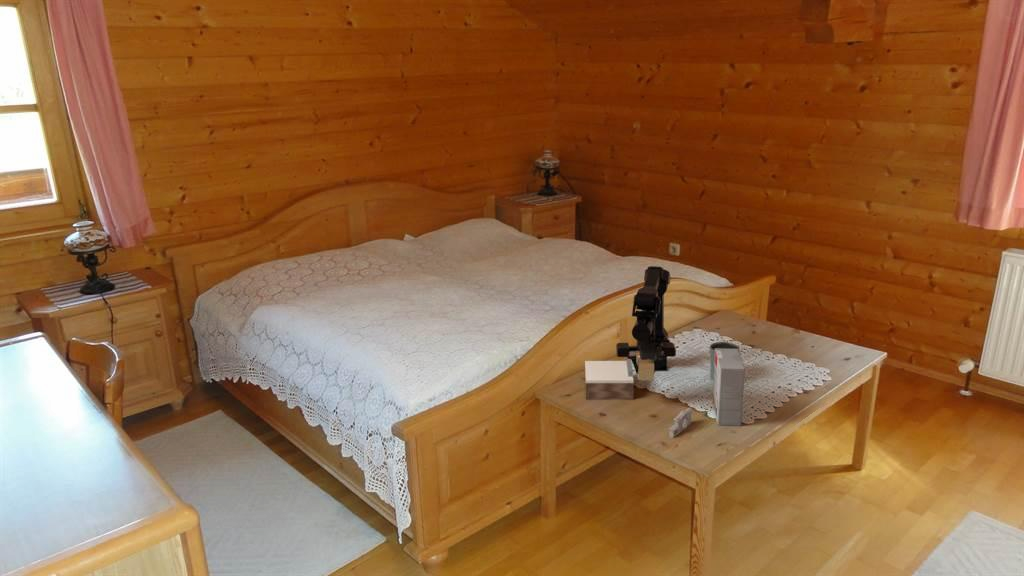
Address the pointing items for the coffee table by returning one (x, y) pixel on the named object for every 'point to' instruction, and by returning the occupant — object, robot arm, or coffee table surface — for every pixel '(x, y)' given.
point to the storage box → (609, 391)
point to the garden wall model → (681, 422)
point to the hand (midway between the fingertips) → (645, 373)
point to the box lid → (609, 371)
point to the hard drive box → (728, 386)
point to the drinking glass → (712, 353)
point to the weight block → (645, 369)
